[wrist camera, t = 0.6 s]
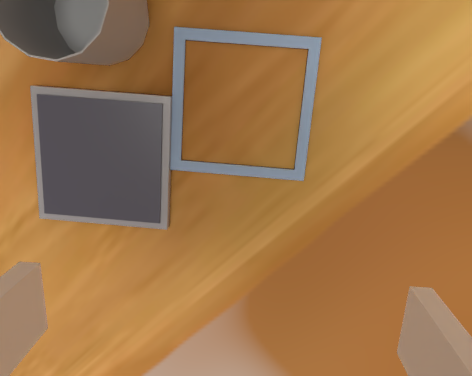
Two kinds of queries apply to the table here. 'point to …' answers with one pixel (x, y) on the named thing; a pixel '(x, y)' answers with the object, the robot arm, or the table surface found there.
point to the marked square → (248, 39)
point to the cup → (75, 29)
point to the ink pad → (102, 156)
